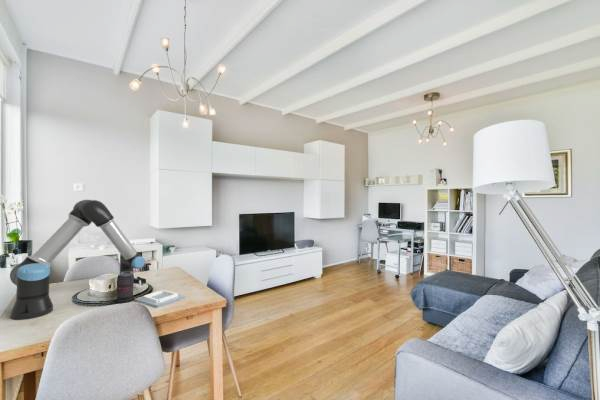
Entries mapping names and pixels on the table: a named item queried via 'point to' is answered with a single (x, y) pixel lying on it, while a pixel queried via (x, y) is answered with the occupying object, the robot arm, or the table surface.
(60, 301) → the table surface
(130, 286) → the camera lens
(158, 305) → the board
